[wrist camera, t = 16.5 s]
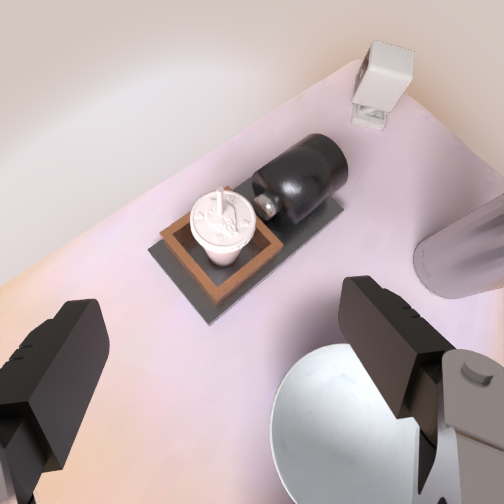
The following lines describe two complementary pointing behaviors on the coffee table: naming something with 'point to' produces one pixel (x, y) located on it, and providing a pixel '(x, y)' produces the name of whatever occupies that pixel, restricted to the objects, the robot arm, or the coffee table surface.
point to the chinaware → (339, 434)
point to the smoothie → (222, 224)
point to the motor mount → (259, 226)
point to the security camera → (380, 83)
